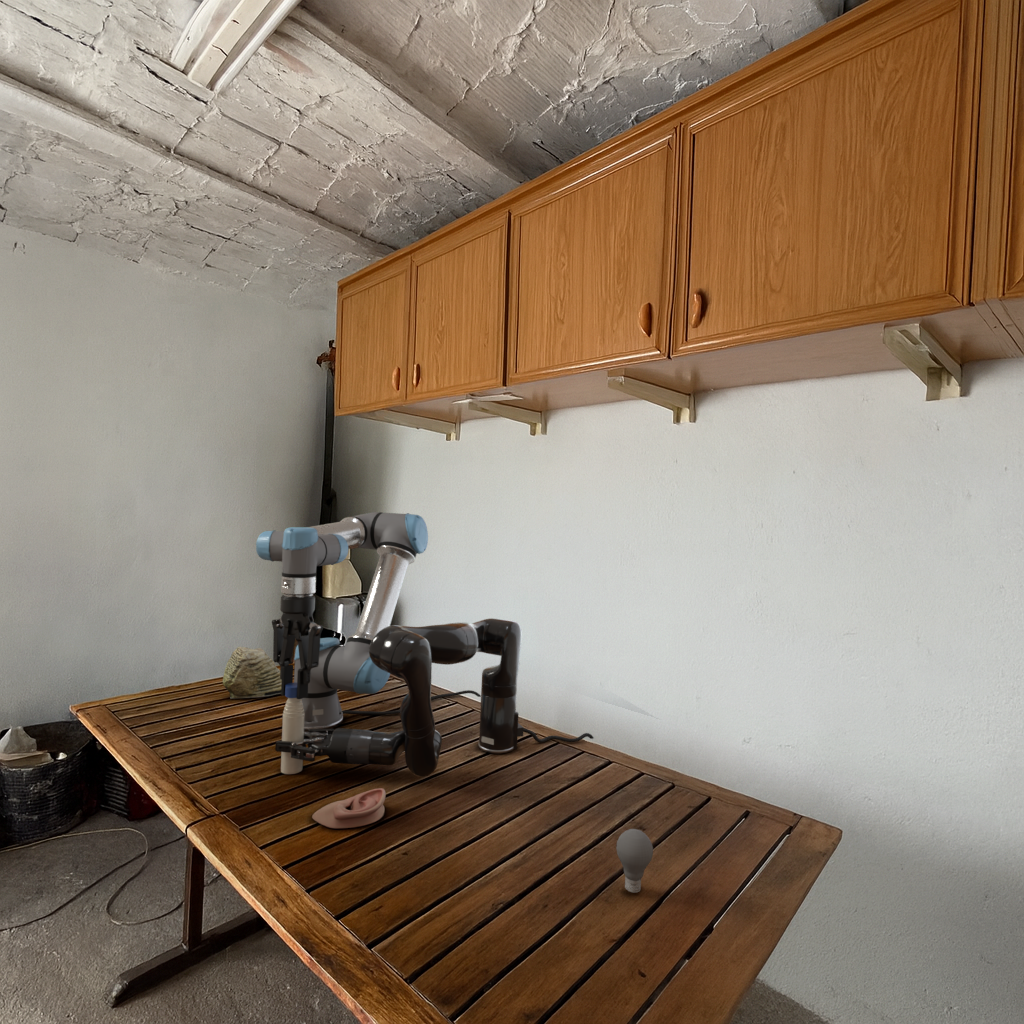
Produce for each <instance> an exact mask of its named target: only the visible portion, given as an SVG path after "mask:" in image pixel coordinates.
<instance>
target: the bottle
mask: <svg viewBox="0 0 1024 1024" xmlns="http://www.w3.org/2000/svg"><path fill="white" fill-rule="evenodd" d="M303 708H304V706H303V703H302V700H301V699H297V698H288V697H287V700H286V701H285V706H284V708H283V711H282V724H281V725H282V726H281V741H288V742H302V741H303V740H304V718H305V712H304V709H303ZM303 767H304V760H300V759H295V758H291V753H290V752H280V773H281V774H284V775H295V774H298V773H300V772H302V771H303Z"/></svg>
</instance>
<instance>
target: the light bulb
mask: <svg viewBox="0 0 1024 1024" xmlns="http://www.w3.org/2000/svg"><path fill="white" fill-rule="evenodd" d="M615 849H616V854H617V857H618V859H619V861H620V863H621V865H622V867H623V873H624V874H623V875H624V876H625V878H624V888H625V890H627V891H628V892H630V893H634V894H635V893H639V892H640V891H641V889H642V887H641V886H642V879H643V877H644V875H645V871H646V868H647V867H648V866H649V864H650V863H651V861H652V859H653V855H654V847H653V843H652V841H651V838H649V836H648V835H647V834H646V833H645V832H643V831H642V830H641V829H636V828H629V829H627V830H625V831H623V832H622V833H621V834H620V835H619V837H618V839H617V841H616V847H615Z"/></svg>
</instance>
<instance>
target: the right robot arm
mask: <svg viewBox="0 0 1024 1024" xmlns="http://www.w3.org/2000/svg"><path fill="white" fill-rule="evenodd" d="M522 639H523V632H522V627H521V625H520V623H519V622H517V621H513V620H509V619H500V618H492V617H491V618H484V619H482V620H479V621H475V622H471V623H470V622H449V623H442V624H433V625H425V626H411V625H410V626H408V625H397V624H392V625H390V626H388V627H386V628H384V629H382V630H381V631H379V632H378V633H377V634H376V635H375V637H374V638H373V639H372V641H371V644H370V647H369V655H370V658H371V660H372V662H373V663H374V664H375V665H376V666H377V667H378V668H380V669H381V670H384V671H385V672H388V673H390V675H391V676H394V677H396V678H398V679H402V680H403V681H404V682H405V684H406V686H407V689H408V692H407V693H406V695H405V696H404V697H403V699H402V700H401V703H400V707H399V710H400V713H399V719H400V722H401V727H402V730H399V731H394V732H386V731H372V730H368V729H357V728H344V727H343V728H342V727H336V728H333V729H309V730H308V732H304V740H303V741H302V742H288V741H282V740H277V741H276V742H275V748H274V749H275V752H277V753H278V752H279V753H281V752H290V753H291V758H295V759H300V760H303V761H306V762H314V761H316V757H323V756H327V757H328V758H329V761H330V762H331V763H333V764H345V765H346V764H347V765H358V766H359V765H360V766H361V765H362V766H363V765H377V766H393V765H395V764H396V763H397V761H398V760H399V759H400V756H401V755H402V754H403V753H404V759H405V760H404V761H405V764H406V767H407V769H408V770H409V772H410V773H412V774H413V775H415V776H417V777H420V778H424V777H428V776H430V775H432V774H433V773H434V772H436V769H437V768H438V765H439V759H440V754H441V749H442V744H443V737H442V734H441V733H440V732H439V731H438V730H436V723H435V722H436V721H435V717H434V712H433V711H434V710H433V706H432V700H431V697H432V678H433V675H432V673H433V671H432V670H433V664H436V665H447V666H448V665H449V666H451V665H455V664H460V663H461V664H462V663H465V662H467V661H469V660H471V659H472V658H474V656H475V655H476V654H477V653H483V654H488V655H494V656H497V657H500V662H499V664H497V665H491V666H488V667H485V668H484V669H483V670H482V672H481V684H480V685H481V687H480V688H481V689H480V690H481V691H480V695H481V697H480V707H479V708H480V712H479V731H478V748H479V750H481V751H482V752H486V753H489V754H495V755H497V754H498V755H500V754H501V755H502V754H507V753H511V752H513V751H514V750H515V751H516V750H518V738H519V737H524V733H527V734H528V735H530V736H531V737H532V738H533V739H534V741H535V742H537V743H538V744H543V743H546V742H548V741H551V740H557V741H562V742H565V743H577V742H580V741H582V740H583V739H584V738H589V739H590V740H593V739H595V737H594V736H593V735H592V734H591V733H589V732H585V733H582V734H581V735H579V736H577V737H574V738H570V737H569V738H568V737H563V736H559V735H548V736H545V737H544V738H539V737H538V735H537V734H536V733H535V732H534V731H532V730H530V729H528V728H525V727H523V725H521V724H520V723H519V712H518V710H517V693H518V691H517V690H518V676H519V671H520V663H521V651H522V643H523V642H522V641H523V640H522Z"/></svg>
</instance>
